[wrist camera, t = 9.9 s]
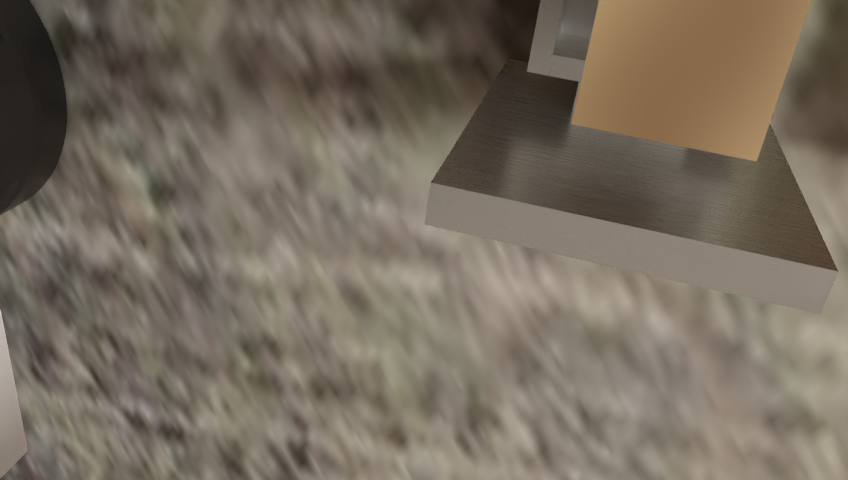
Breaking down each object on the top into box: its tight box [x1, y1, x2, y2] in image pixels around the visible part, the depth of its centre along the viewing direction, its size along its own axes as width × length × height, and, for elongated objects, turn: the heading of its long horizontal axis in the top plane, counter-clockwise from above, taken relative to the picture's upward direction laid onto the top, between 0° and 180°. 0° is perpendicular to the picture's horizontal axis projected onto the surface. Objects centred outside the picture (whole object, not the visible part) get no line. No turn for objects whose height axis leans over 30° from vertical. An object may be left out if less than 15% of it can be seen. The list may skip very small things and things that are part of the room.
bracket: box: [425, 0, 838, 314], centre depth 24 cm, size 10×10×14 cm
